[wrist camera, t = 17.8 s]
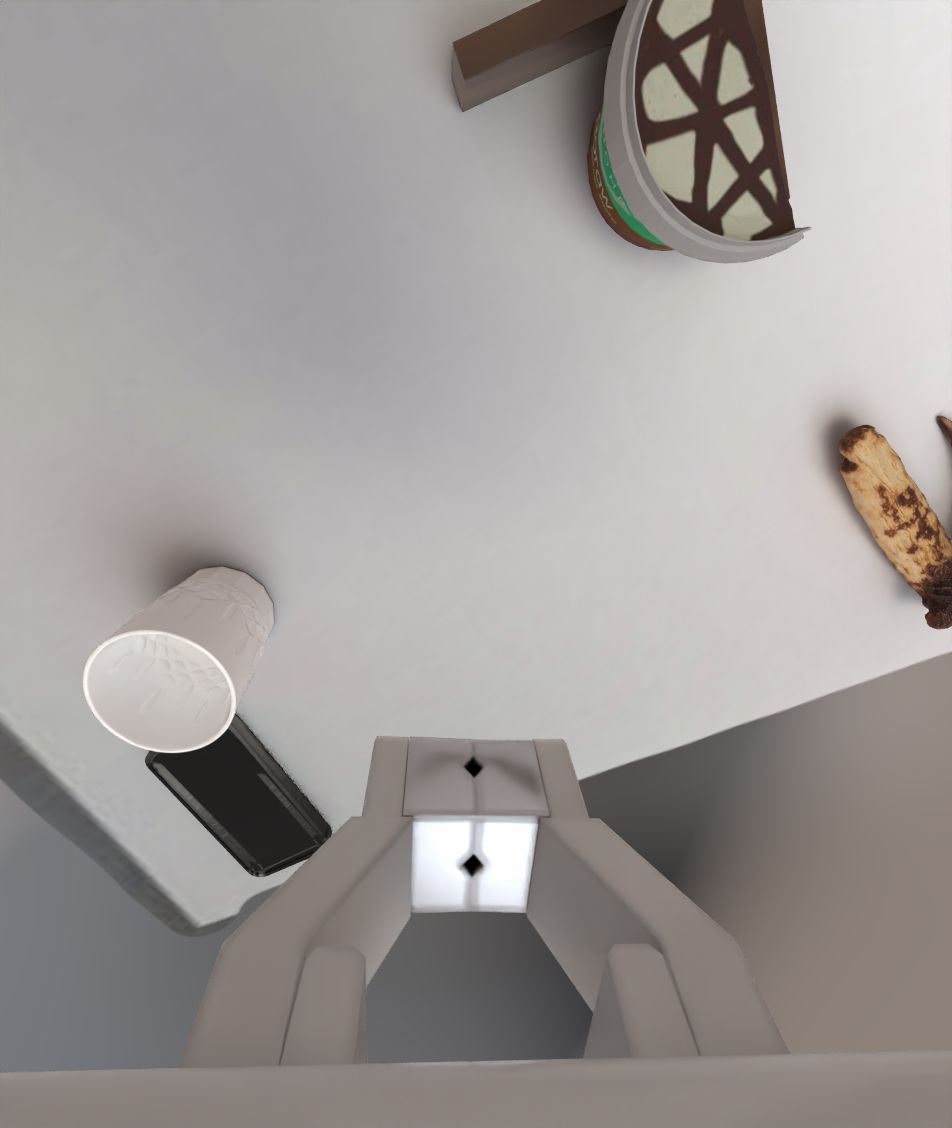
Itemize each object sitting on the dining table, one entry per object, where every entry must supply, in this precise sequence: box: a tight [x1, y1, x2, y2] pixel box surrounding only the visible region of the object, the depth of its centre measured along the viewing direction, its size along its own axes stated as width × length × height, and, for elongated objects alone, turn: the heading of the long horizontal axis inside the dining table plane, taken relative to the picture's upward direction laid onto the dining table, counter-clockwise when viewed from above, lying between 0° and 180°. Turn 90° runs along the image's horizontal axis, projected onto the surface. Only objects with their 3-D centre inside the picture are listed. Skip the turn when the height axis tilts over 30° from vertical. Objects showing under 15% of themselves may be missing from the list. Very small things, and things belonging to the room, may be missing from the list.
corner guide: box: [452, 0, 790, 200], centre depth 29 cm, size 12×14×4 cm
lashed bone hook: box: [839, 417, 952, 629], centre depth 37 cm, size 9×5×18 cm
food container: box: [587, 0, 811, 263], centre depth 26 cm, size 12×6×10 cm, turn 26°
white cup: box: [82, 567, 274, 753], centre depth 35 cm, size 8×8×10 cm
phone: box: [145, 715, 332, 877], centre depth 45 cm, size 8×1×15 cm
